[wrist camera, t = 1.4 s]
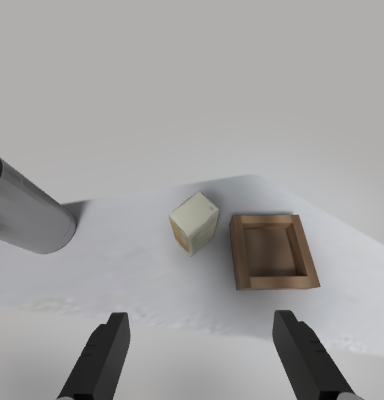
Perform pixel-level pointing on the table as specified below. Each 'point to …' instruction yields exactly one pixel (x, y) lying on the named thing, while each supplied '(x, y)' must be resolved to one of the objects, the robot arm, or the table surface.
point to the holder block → (271, 253)
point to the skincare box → (194, 222)
